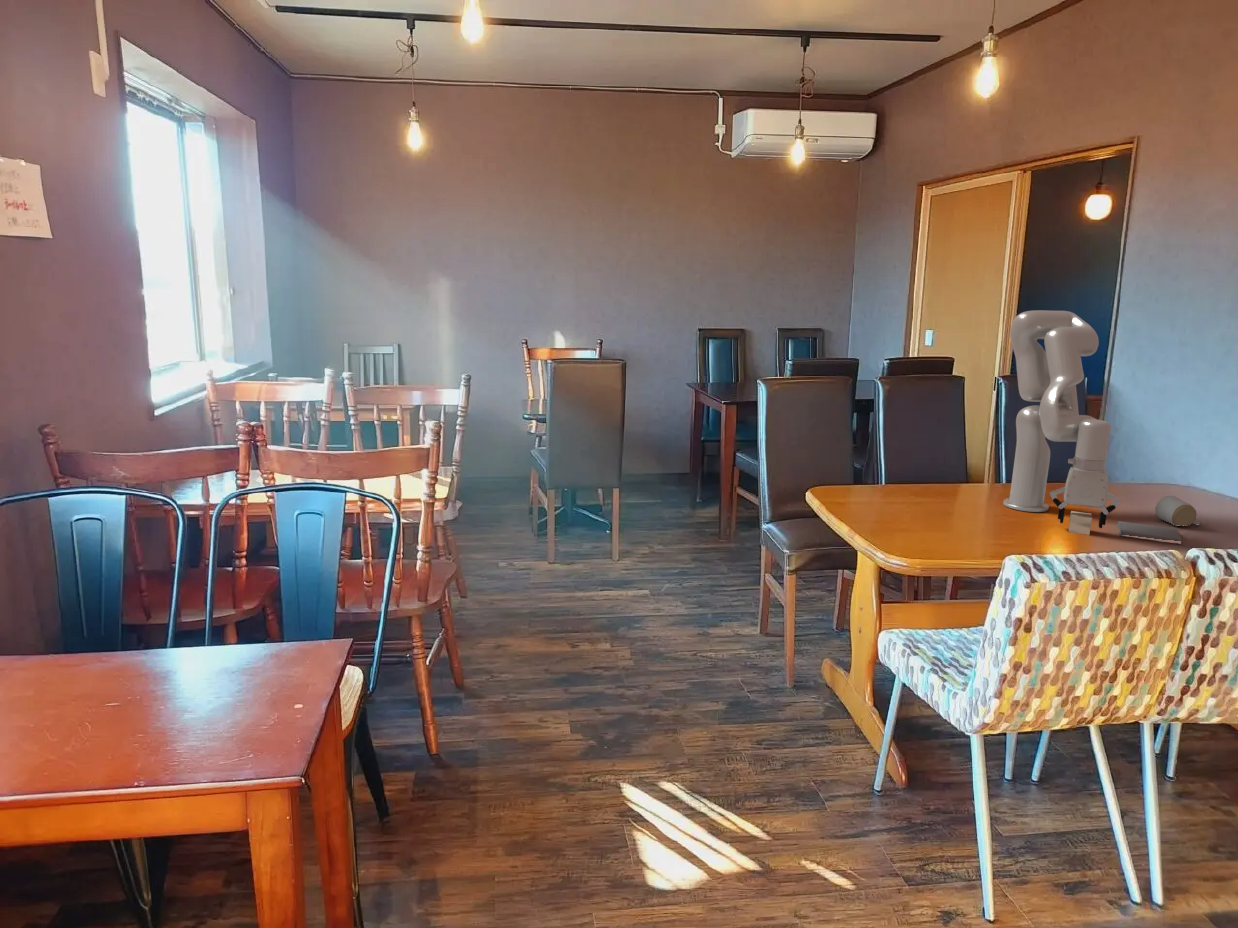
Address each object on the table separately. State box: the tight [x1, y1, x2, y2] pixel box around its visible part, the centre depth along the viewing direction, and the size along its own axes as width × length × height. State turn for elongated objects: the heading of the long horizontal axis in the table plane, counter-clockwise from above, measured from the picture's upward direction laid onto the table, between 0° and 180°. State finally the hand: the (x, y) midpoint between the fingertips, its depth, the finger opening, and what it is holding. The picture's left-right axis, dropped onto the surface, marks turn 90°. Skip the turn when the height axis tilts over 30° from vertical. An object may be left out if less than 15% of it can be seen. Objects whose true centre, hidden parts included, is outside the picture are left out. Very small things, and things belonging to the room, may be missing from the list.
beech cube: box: [1068, 510, 1093, 536], centre depth 227 cm, size 5×5×5 cm
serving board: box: [1117, 520, 1183, 541], centre depth 225 cm, size 11×14×2 cm
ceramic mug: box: [1154, 495, 1202, 527], centre depth 235 cm, size 11×8×8 cm
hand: (1080, 524), depth 227 cm, fingers open, 9 cm apart
